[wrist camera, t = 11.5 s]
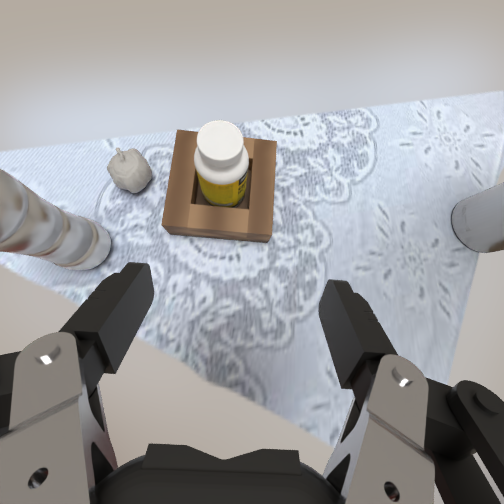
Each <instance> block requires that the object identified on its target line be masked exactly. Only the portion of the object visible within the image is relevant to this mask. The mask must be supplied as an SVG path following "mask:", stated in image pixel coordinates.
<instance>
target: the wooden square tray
mask: <svg viewBox="0 0 504 504" xmlns="http://www.w3.org/2000/svg"><path fill="white" fill-rule="evenodd" d="M197 135H198V132H194V131H185V130H177V134H176V140H175V146H174V152H173V158H172V164H171V170H170V176H169V182H168V188H167V194H166V200H165V206H164V212H163V219H162V226H163V227H164V228H165V229H166V230H167V232H168V233H169V234H172V235H183V236H195V237H206V238H218V239H229V240H240V241H252V242H263V243H268V241H269V239H270V237H271V236H272V224H273V204H274V185H275V165H276V146H277V141H271V140H262V139H254V138H245V137H243V141H244V144H243V145H244V146H245V148H246V150H247V153H248V157H249V165H248V174H247V182H246V191H245V196H244V199H243V201H242V202H241V204H240V205H239V206H237V207H236V208H228V207H217V206H210V205H209V204H208V203H207V202H206V201H205V199H204V196H203V194H202V190H201V186H200V182H199V179H198V175H197V171H196V168H195V164H194V154H195V150H196V148H197Z"/></svg>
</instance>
